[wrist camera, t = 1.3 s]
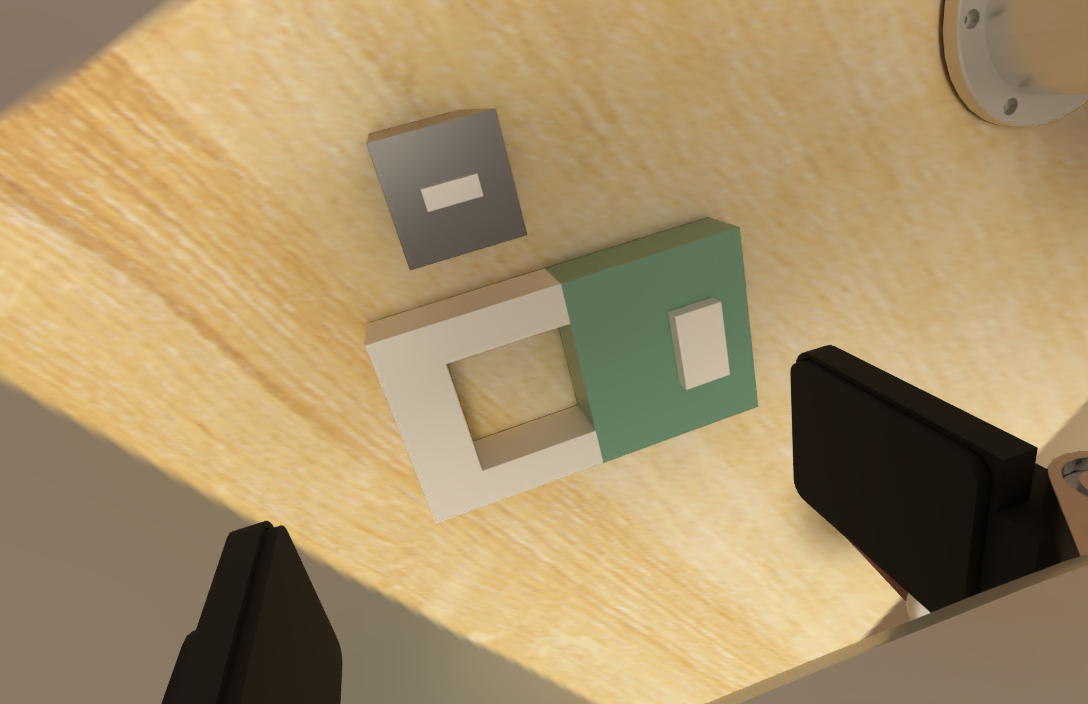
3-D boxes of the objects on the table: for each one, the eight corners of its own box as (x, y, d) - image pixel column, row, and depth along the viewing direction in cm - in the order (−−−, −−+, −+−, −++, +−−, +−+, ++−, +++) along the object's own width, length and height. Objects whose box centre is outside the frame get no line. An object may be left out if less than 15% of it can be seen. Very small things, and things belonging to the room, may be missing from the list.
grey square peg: (458, 110, 27) (497, 108, 18) (483, 199, 28) (529, 236, 20) (369, 133, 26) (366, 143, 18) (399, 224, 28) (410, 272, 19)
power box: (708, 217, 31) (748, 230, 28) (728, 384, 36) (766, 413, 32) (365, 323, 29) (364, 352, 26) (430, 490, 33) (437, 533, 30)
